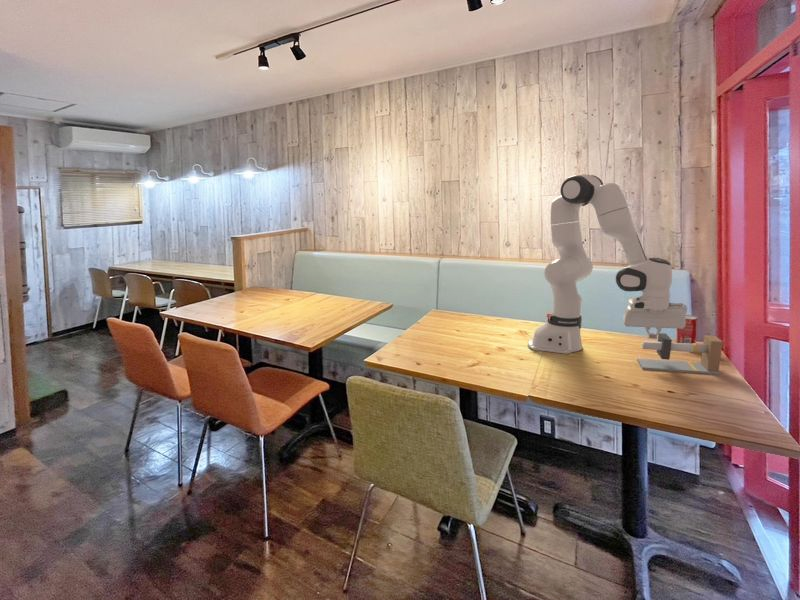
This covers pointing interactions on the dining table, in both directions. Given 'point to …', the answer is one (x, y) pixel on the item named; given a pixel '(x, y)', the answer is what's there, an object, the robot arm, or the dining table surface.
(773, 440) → the dining table surface
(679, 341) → the soda can
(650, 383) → the dining table surface
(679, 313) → the robot arm
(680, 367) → the pipe stand
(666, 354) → the grey rectangular frame
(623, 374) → the dining table surface
